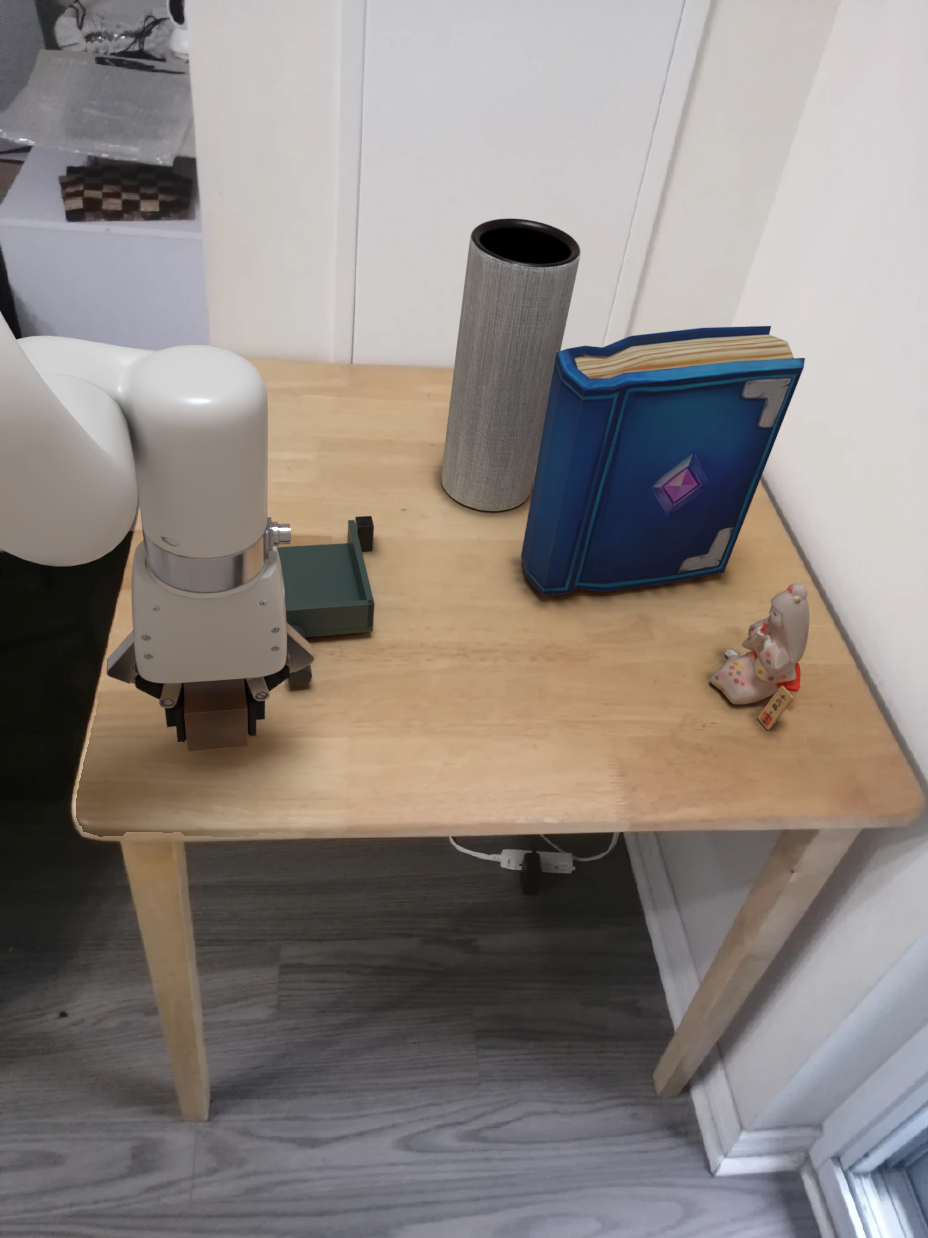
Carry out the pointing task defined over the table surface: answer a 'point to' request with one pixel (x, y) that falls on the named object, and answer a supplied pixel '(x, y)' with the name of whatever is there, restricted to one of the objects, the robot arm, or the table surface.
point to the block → (215, 714)
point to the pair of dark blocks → (365, 532)
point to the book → (653, 456)
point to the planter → (506, 359)
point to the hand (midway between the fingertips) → (216, 723)
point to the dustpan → (326, 591)
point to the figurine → (769, 657)
